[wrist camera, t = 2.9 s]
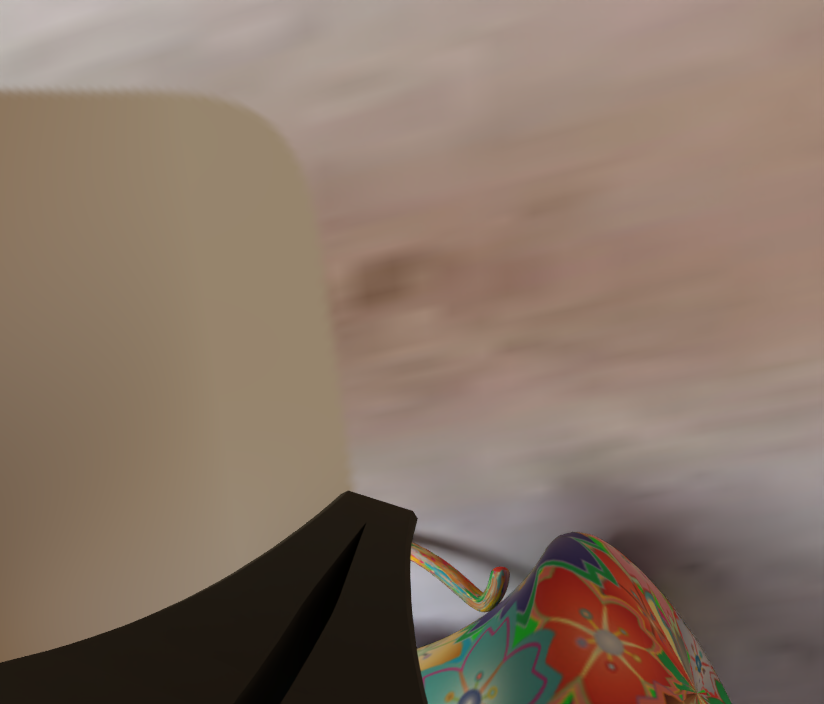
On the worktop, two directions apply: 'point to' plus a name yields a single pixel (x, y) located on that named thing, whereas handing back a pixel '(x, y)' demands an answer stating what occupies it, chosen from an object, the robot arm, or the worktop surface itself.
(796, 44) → the worktop surface
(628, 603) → the mug
